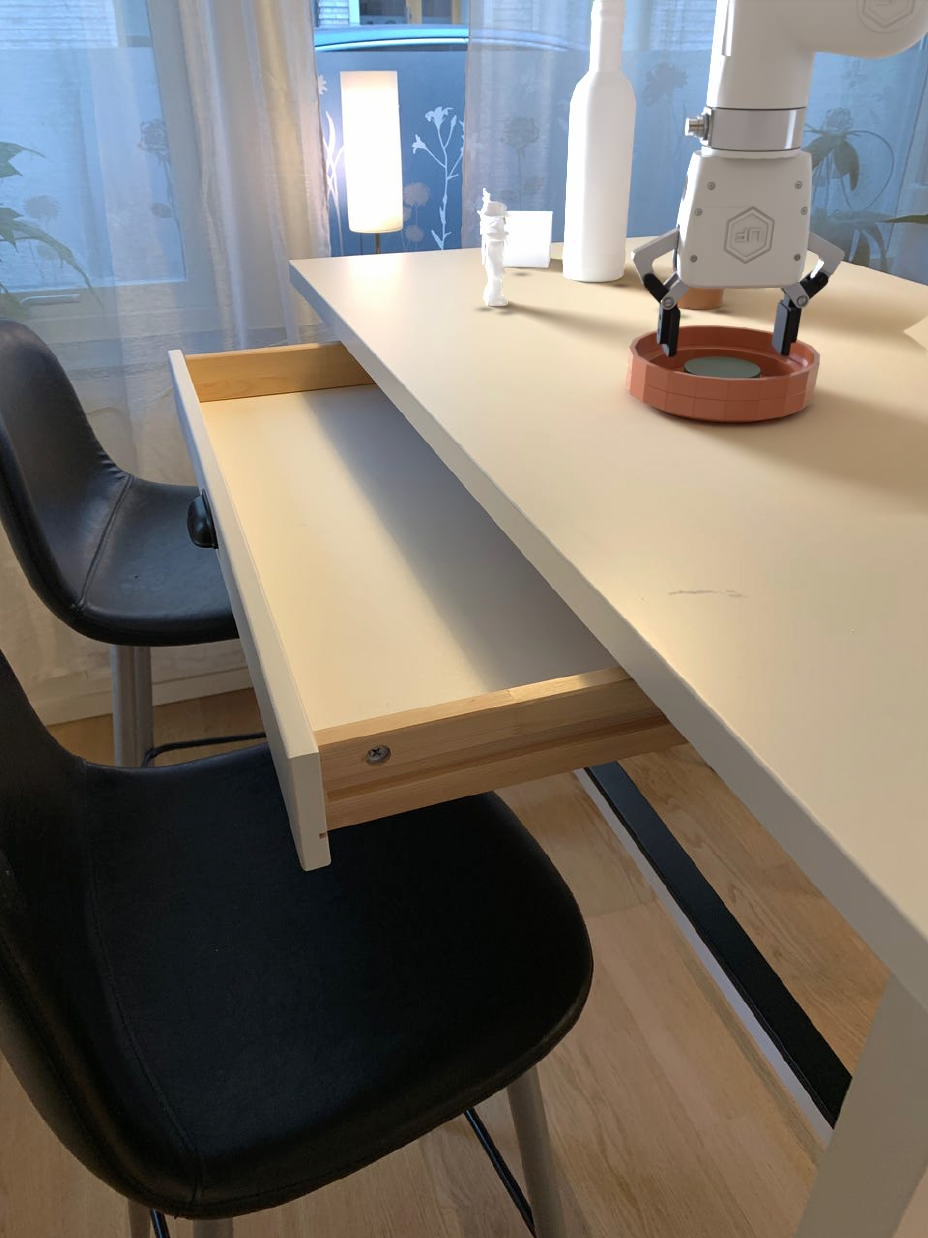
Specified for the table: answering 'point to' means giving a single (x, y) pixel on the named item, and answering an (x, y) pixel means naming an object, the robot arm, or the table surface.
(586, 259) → the bottle
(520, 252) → the white cube
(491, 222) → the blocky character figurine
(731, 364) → the lid
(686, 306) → the jar
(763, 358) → the bowl
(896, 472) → the table surface
